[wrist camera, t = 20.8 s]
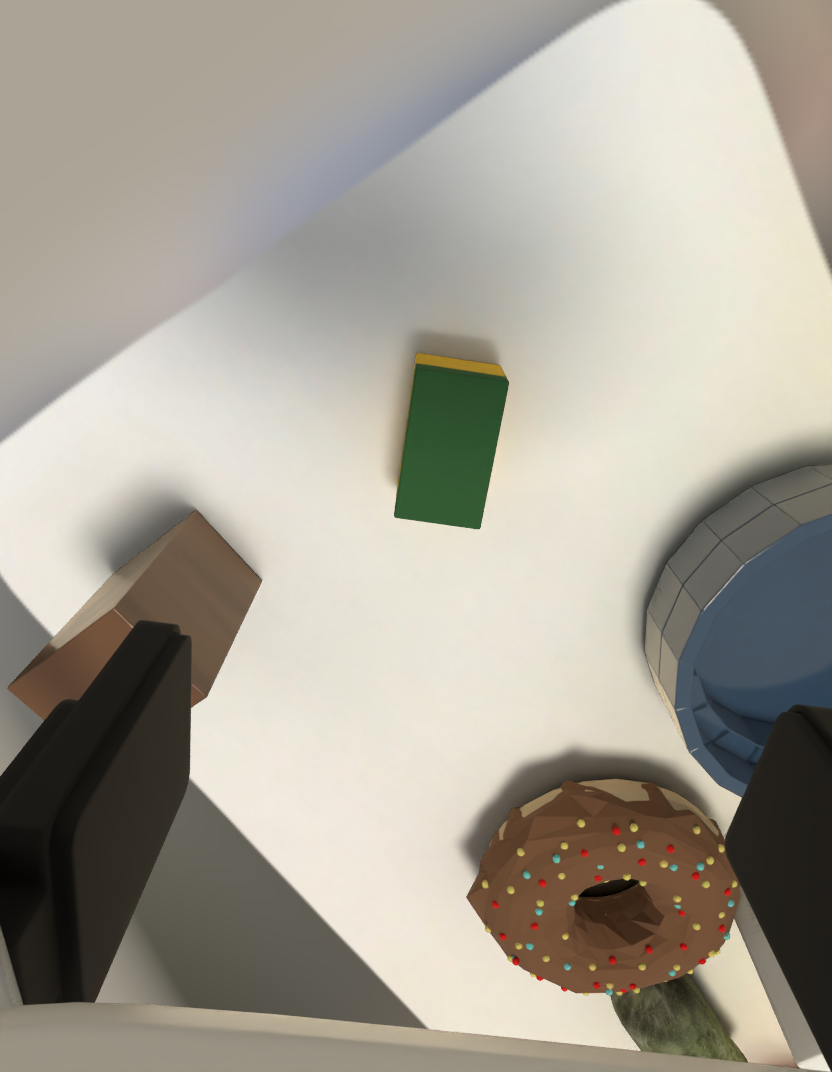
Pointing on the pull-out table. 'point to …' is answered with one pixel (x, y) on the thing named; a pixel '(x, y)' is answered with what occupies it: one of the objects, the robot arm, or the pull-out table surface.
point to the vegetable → (675, 1021)
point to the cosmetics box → (779, 991)
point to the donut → (600, 856)
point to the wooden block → (149, 614)
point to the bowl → (746, 621)
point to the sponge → (450, 440)
